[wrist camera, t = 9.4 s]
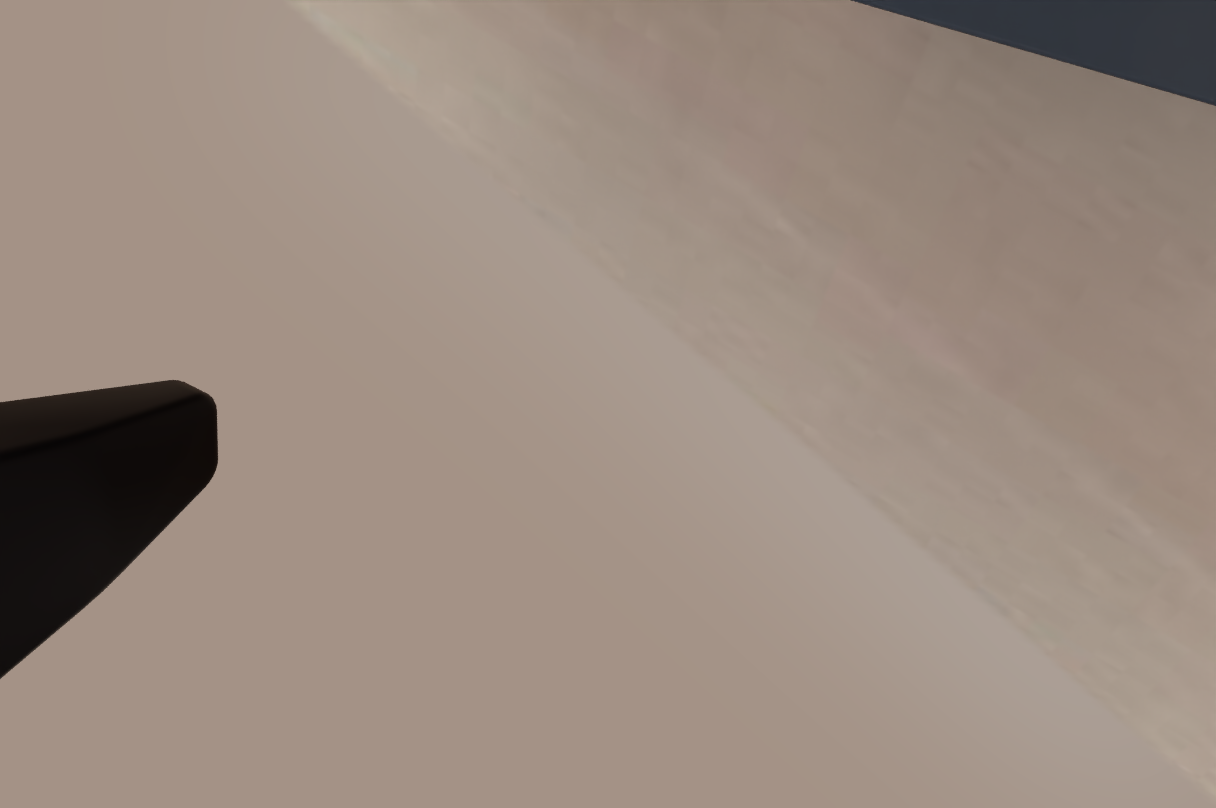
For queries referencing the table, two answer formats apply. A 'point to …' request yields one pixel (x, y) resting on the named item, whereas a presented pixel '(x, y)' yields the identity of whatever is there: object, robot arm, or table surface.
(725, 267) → the table surface
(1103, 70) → the shelf
